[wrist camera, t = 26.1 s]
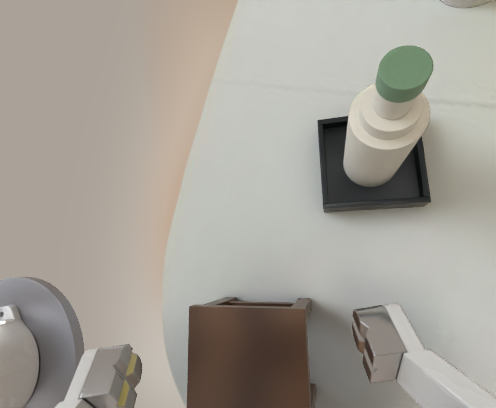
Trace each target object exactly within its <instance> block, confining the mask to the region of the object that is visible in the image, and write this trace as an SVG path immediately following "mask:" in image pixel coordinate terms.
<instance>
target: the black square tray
mask: <svg viewBox="0 0 496 408" xmlns="http://www.w3.org/2000/svg"><path fill="white" fill-rule="evenodd" d="M347 124H348V116H345V117H338V118H331V119H324V120H318V135H319V150H320V165H321V180H322V194H323V209H324V212H337V211H354V210H371V209H388V208H405V207H422V206H425V205H427V204H428V203H430V202H431V198H430V191H429V184H428V177H427V170H426V163H425V156H424V149H423V142H422V136H421V137H420V139H419V140H418V141H417V143H416V144H415V146H414V147H413V149H412V150H411V151H410V153H409V154H408V156H407V157H406V159H405V160H404V161H403V163H402V164H401V166H400V167H399V169H398V170H397V171H396V173H395V174H394V176H393V177H392V178H391V179H390V180H389V181H387V182H386V183H384V184H382V185H380V186H375V187H365V186H361V185H358V184H356V183H354V182H353V181H352V180H351V179H350V178H349V177H348V176H347V174H346V173H345V170H344V166H343V160H344V151H345V142H346V133H347Z"/></svg>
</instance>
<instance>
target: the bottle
mask: <svg viewBox="0 0 496 408" xmlns="http://www.w3.org/2000/svg"><path fill="white" fill-rule="evenodd" d="M432 71H433V61H432V58H431V56H430V55H429V54H428V52H426V51H425V50H424V49H422V48H420V47H416V46H401V47H398V48H395V49H393V50H391V51H390V52H389V53H387V54H386V55H385V56H384V58H383V59H382V60H381V62H380V65H379V69H378V73H377V78H376V83H375V84H372V85H370V86H368V87H367V88H365V89H364V90H362V91H361V92H360V93H359V94H358V95H357V96H356V97H355V99H354V100H353V102H352V104H351V106H350V109H349V115H348V124H347V133H346V142H345V151H344V160H343V166H344V170H345V173H346V174H347V176H348V177H349V178H350V179H351V180H352V181H353V182H354V183H356V184H358V185H361V186H365V187H375V186H380V185H382V184H384V183H386V182H387V181H389V180H390V179H391V178H392V177H393V176H394V174H395V173H396V171H397V170H398V169H399V167H400V166H401V164H402V163H403V161H404V160H405V159H406V157H407V156H408V154H409V153H410V151H411V150H412V149H413V147H414V146H415V144H416V143H417V141H418V140H419V139H420V137H421V136H422V134H423V133H424V131H425V130H426V128H427V126H428V123H429V120H430V107H429V103H428V101H427V99H426V97H425V96H424V94H423V93H422V91H423V89H424V87H425V86H426V84H427V82H428V80H429V78H430V76H431V74H432Z"/></svg>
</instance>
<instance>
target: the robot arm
mask: <svg viewBox="0 0 496 408" xmlns="http://www.w3.org/2000/svg"><path fill="white" fill-rule="evenodd" d="M353 318H354V320H355V321H354V322H352V330H353V336H354V340H355V343H356V346H357V349H358V350H359V351H360V352H361V353H362V354H363V365H364V368H365V370H366V373H367V376H368V378H369V381H370V383H376V382H385V381H394V380H396V382H397V383H398V384H399V385H400V386H401V387H402V388H403V389H404V390H405V391H406V392H407V393H408V394H409V395H410V396H411V397H412V398H413V399H414V400H415V401H416V402H417V403H418V404H419V405H420V406H421V407H422V408H496V397H494V396H493V395H492V394H490V393H489V392H488V391H486V390H485V389H483V388H482V387H481V386H479V385H478V384H477V383H475V382H474V381H473V380H471V379H470V378H469V377H467V376H466V375H464V374H463V373H462V372H460V371H459V370H458V369H456V368H455V367H454V366H452V365H451V364H450V363H448V362H447V361H445V360H444V359H443V358H441V357H440V356H439V355H437V354H436V353H435V352H433V351H432V350H431V349H428V350H425V348H424V346H423V344H422V342H421V341H420V339H419V337H418V335H417V334H416V332H415V330H414V328H413V326H412V325H411V323H410V321H409V319H408V318H407V316H406V314H405V312H404V310H403V309H402V307H401V306H400V305H399V304H398V303H393V304H386V305H379V306H373V307H367V308H361V309H355V310H354V311H353ZM132 349H133V348H132V347H131V346H130V345H129V344H126V345H119V346H112V347H106V348H98V349H92V350H86V352H85V353H84V354H83V355H82V357H81V360H80V362H79V365H78V367H77V370H76V372H75V374H74V377H73V379H72V382H71V384H70V387H69V389H68V392H67V394H66V397H65V399H64V401H62V402H59V403H58V404H57V405H56V406H55V408H134V405H135V401H136V397H137V394H136V391H135V389H134V388H135V387H136V386H137V384H138V383H139V381H140V379H141V374H142V363H141V360H140V357H139V356H138V355H137V354H134V353H132ZM38 372H39V353H38V348H37V344H36V341H35V339H34V336H33V335H32V333H31V331H30V330H29V329H28V327H27V326H26V325H25V324H24V323H23V321H22V320H21V317H20V314H19V311H18V309H17V307H16V306H15V305H8V306H4V307H0V408H23V407H24V406H25V405H26V404H27V402H28V401H29V399H30V397H31V395H32V393H33V391H34V388H35V386H36V382H37V378H38Z"/></svg>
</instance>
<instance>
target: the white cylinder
mask: <svg viewBox="0 0 496 408" xmlns="http://www.w3.org/2000/svg"><path fill="white" fill-rule="evenodd" d="M440 1H442V2H443V3H445V4H447V5H450V6H453V7H459V8H468V7H475V6H479V5H482V4H484V3H487V2H489V1H490V0H440Z"/></svg>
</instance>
